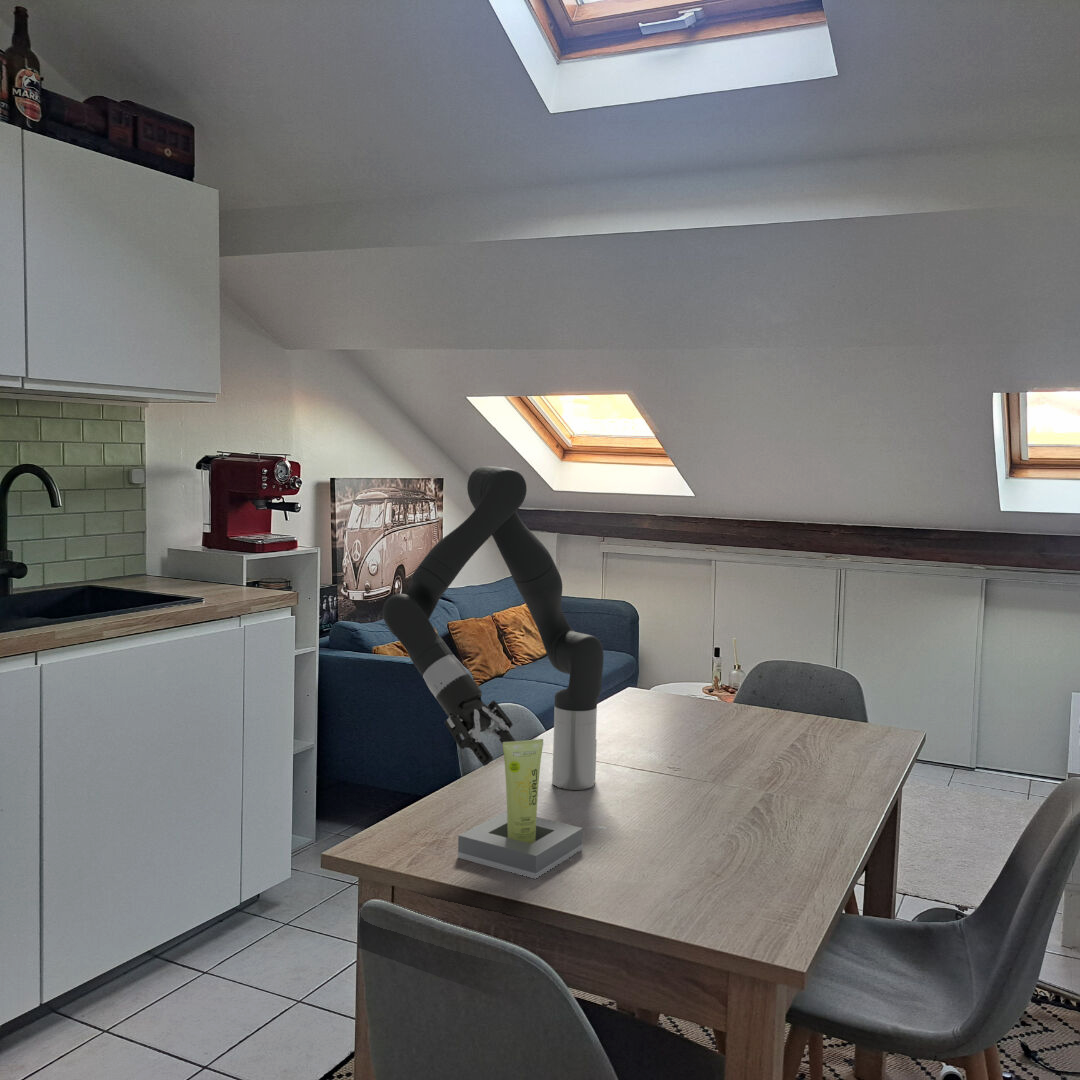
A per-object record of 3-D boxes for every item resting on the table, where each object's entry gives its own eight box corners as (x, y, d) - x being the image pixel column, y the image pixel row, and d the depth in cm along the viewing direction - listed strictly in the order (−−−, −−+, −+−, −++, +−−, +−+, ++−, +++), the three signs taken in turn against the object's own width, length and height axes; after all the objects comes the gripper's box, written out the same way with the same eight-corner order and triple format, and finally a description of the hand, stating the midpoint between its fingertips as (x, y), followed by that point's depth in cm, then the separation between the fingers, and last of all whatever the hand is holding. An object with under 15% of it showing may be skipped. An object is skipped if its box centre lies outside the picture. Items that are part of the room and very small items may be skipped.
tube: (524, 856, 174) (527, 745, 173) (499, 849, 177) (502, 741, 175) (540, 846, 179) (543, 738, 178) (516, 840, 182) (519, 734, 180)
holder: (508, 830, 189) (508, 810, 189) (582, 849, 181) (582, 828, 180) (457, 857, 175) (458, 835, 175) (535, 879, 167) (536, 855, 167)
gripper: (440, 679, 177) (493, 754, 172) (486, 666, 189) (536, 736, 184) (416, 704, 180) (467, 779, 175) (462, 690, 192) (511, 759, 187)
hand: (502, 757), depth 179 cm, fingers open, 8 cm apart
